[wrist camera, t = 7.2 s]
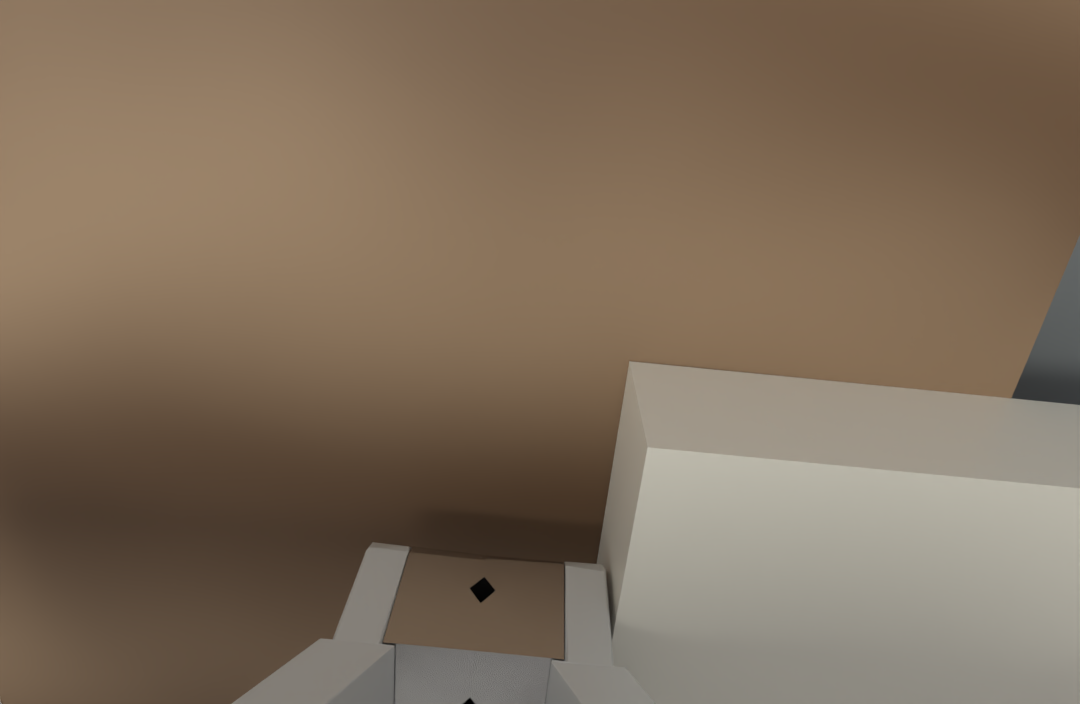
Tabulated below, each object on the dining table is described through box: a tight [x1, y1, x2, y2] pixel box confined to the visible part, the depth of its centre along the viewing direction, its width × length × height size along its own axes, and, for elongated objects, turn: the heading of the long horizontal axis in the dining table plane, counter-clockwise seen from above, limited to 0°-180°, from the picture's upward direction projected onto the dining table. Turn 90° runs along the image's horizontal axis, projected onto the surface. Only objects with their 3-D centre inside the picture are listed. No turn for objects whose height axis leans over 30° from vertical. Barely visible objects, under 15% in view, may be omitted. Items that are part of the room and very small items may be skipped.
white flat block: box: [597, 361, 1080, 704], centre depth 9 cm, size 6×9×2 cm, turn 84°
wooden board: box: [0, 0, 1080, 704], centre depth 11 cm, size 20×14×2 cm
